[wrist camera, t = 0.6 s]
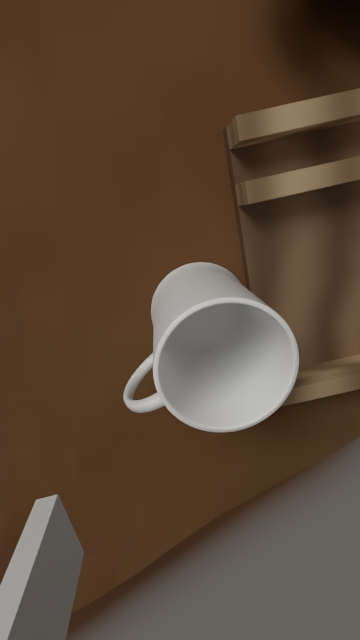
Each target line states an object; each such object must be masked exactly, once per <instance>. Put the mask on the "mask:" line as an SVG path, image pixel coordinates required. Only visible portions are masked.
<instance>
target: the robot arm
mask: <svg viewBox="0 0 360 640" xmlns="http://www.w3.org/2000/svg"><path fill="white" fill-rule="evenodd" d="M83 554H84V551H83V549H82V547H81V544H80V542H79V540H78V538H77V536H76V534H75V531H74V529H73V527H72V525H71V523H70V520H69V518H68V516H67V514H66V512H65V509H64V507H63V505H62V503H61V501H60V498H59V496H58V494H57V495H53V496H50V497H46V498H42V499H38V500H36V501H35V504H34V506H33V508H32V511H31V513H30V516H29V518H28V520H27V523H26V525H25V528H24V530H23V532H22V535H21V537H20V540H19V542H18V544H17V547H16V549H15V552H14V554H13V556H12V559H11V561H10V564H9V566H8V568H7V571H6V573H5V576H4V578H3V580H2V583H1V585H0V640H65V639H66V635H67V630H68V625H69V621H70V616H71V611H72V606H73V602H74V597H75V592H76V587H77V582H78V578H79V573H80V568H81V563H82V559H83Z"/></svg>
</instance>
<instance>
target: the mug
mask: <svg viewBox="0 0 360 640" xmlns="http://www.w3.org/2000/svg"><path fill="white" fill-rule="evenodd" d="M151 318H152V323H153V326H154V333H153V353H152V354H151V355H150V356H149V357H148V358H147V359H146V360H145V361H144V362H143V363H142V364H141V365H140V366H139V367H138V369H137V370H136V371H135V372H134V374H133V375H132V376H131V378H130V380H129V381H128V383H127V385H126V388H125V390H124V402H125V404H126V406H127V407H128V408H129V409H130V410H132V411H134V412H138V413H144V412H149V411H153V410H155V409H158V408H160V407H163V406H166V408H167V409H168V410H169V411H170V412H171V413H172V414H173V415H174V416H175V417H176V418H178V419H179V420H181V421H182V422H184V423H186V424H187V425H190V426H192V427H194V428H197V429H200V430H204V431H210V432H232V431H238V430H242V429H245V428H248V427H251V426H253V425H255V424H257V423H259V422H261V421H263V420H264V419H266V418H267V417H269V416H270V415H271V414H273V413H274V412H275V411H276V410H277V409H278V408H279V407H280V406H281V405H282V404H283V402H284V401H285V400H286V398H287V397H288V395H289V394H290V392H291V390H292V388H293V386H294V384H295V381H296V378H297V374H298V368H299V352H298V346H297V342H296V339H295V337H294V334H293V332H292V331H291V329H290V327H289V326H288V324H287V323H286V322H285V320H284V319H283V318H282V317H281V316H280V315H279V314H278V313H277V312H275V311H274V310H273V309H272V308H270V307H269V306H268V305H267V304H265V303H264V302H263V301H262V300H260V299H259V298H258V297H257V296H255V295H254V294H253V293H252V292H250V291H249V290H248V289H246V288H245V287H244V286H243V285H242V284H241V283H240V281H239V280H238V279H237V278H236V276H235V275H233V274H232V273H231V272H230V271H228V270H227V269H225V268H223V267H221V266H219V265H216V264H212V263H206V262H196V263H190V264H186V265H183V266H181V267H179V268H177V269H175V270H173V271H172V272H171V273H169V274H168V275H167V276H166V277H165V278H164V279H163V280H162V281H161V283H160V284H159V286H158V287H157V289H156V291H155V293H154V296H153V299H152V304H151ZM152 367H153V377H154V383H155V387H156V390H157V393H155V394H154V395H152V396H150V397H147V398H145V399H142V400H133V395H134V392H135V390H136V388H137V386H138V384H139V383H140V381H141V380H142V378H143V377H144V376H145V375H146V374H147V372H148V371H149V370H150V369H151V368H152Z"/></svg>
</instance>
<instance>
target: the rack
mask: <svg viewBox="0 0 360 640" xmlns="http://www.w3.org/2000/svg"><path fill="white" fill-rule="evenodd" d="M223 134H224V140H225V147H226V153H227V160H228V166H229V173H230V179H231V186H232V192H233V199H234V205H235V212H236V218H237V225H238V232H239V238H240V245H241V251H242V258H243V264H244V271H245V277H246V284H247V289H248V290H249V291H250V292H252V293H253V294H254V295H255V296H257V297H258V298H259V299H260V300H262V301H263V302H264V303H265V304H267V305H268V306H269V307H270V308H272V309H273V310H274V311H275V312H277V313H278V314H279V315H280V316H281V317H282V318H283V319H284V320H285V322H286V323H287V324H288V326H289V327H290V329H291V331H292V332H293V334H294V337H295V339H296V342H297V346H298V352H299V368H298V374H297V378H296V381H295V384H294V386H293V388H292V390H291V392H290V394H289V395H288V397H287V398H286V400H285V401H284V402H283V404H282V405H281V406H280V407H282V406H287V405H291V404H296V403H300V402H305V401H309V400H314V399H318V398H322V397H327V396H331V395H336V394H340V393H345V392H349V391H354V390H358V389H360V88H358V89H353V90H349V91H344V92H340V93H335V94H331V95H326V96H322V97H317V98H313V99H308V100H304V101H299V102H295V103H290V104H286V105H281V106H277V107H272V108H268V109H263V110H259V111H254V112H250V113H245V114H241V115H236V116H235V117H234V118H233V120H232V121H231V122H230V124H229V125H228V126H227V127H226V129H225V130H224V131H223Z"/></svg>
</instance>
